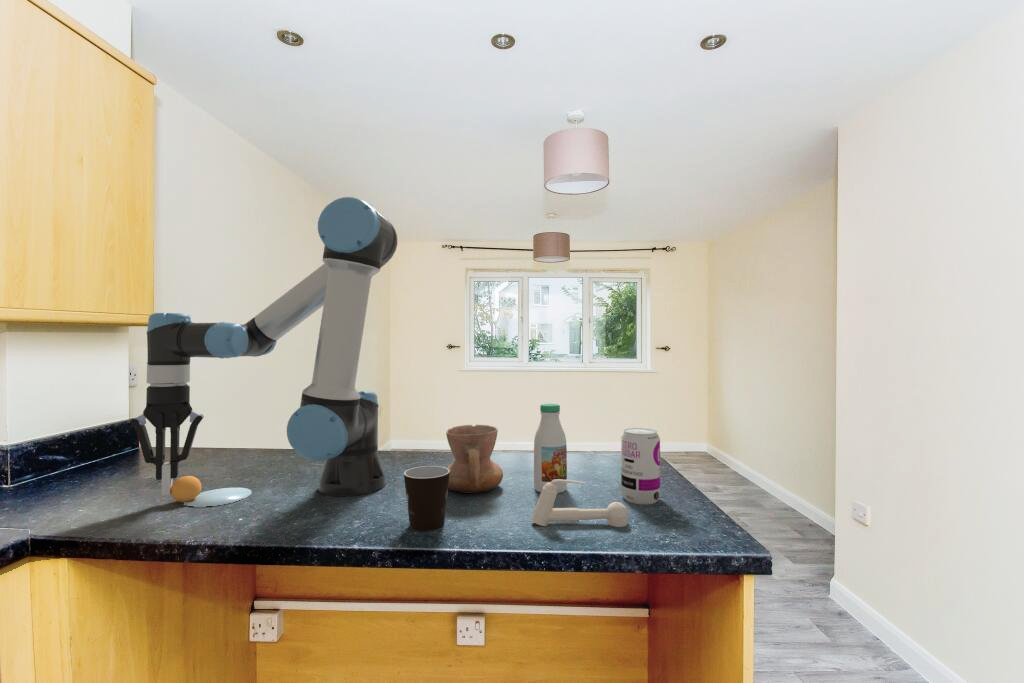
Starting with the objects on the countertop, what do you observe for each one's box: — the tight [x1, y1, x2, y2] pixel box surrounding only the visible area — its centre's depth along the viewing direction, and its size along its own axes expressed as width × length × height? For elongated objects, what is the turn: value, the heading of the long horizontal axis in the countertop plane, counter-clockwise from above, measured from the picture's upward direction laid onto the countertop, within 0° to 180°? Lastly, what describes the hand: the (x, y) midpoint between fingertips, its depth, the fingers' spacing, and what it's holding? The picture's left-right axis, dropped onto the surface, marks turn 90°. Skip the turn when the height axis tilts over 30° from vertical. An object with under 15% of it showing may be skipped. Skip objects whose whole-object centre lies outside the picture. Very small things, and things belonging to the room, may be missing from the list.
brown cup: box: [403, 465, 450, 532], centre depth 89 cm, size 12×9×10 cm
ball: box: [170, 475, 202, 503], centre depth 101 cm, size 6×6×6 cm
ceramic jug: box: [445, 424, 504, 494], centre depth 109 cm, size 18×14×14 cm
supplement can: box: [620, 427, 661, 506], centre depth 102 cm, size 8×8×15 cm
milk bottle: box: [533, 403, 568, 494], centre depth 109 cm, size 8×8×20 cm
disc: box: [182, 487, 253, 508], centre depth 104 cm, size 13×13×1 cm
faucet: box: [530, 479, 629, 528], centre depth 88 cm, size 4×18×10 cm, turn 91°
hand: (167, 493), depth 100 cm, fingers closed
